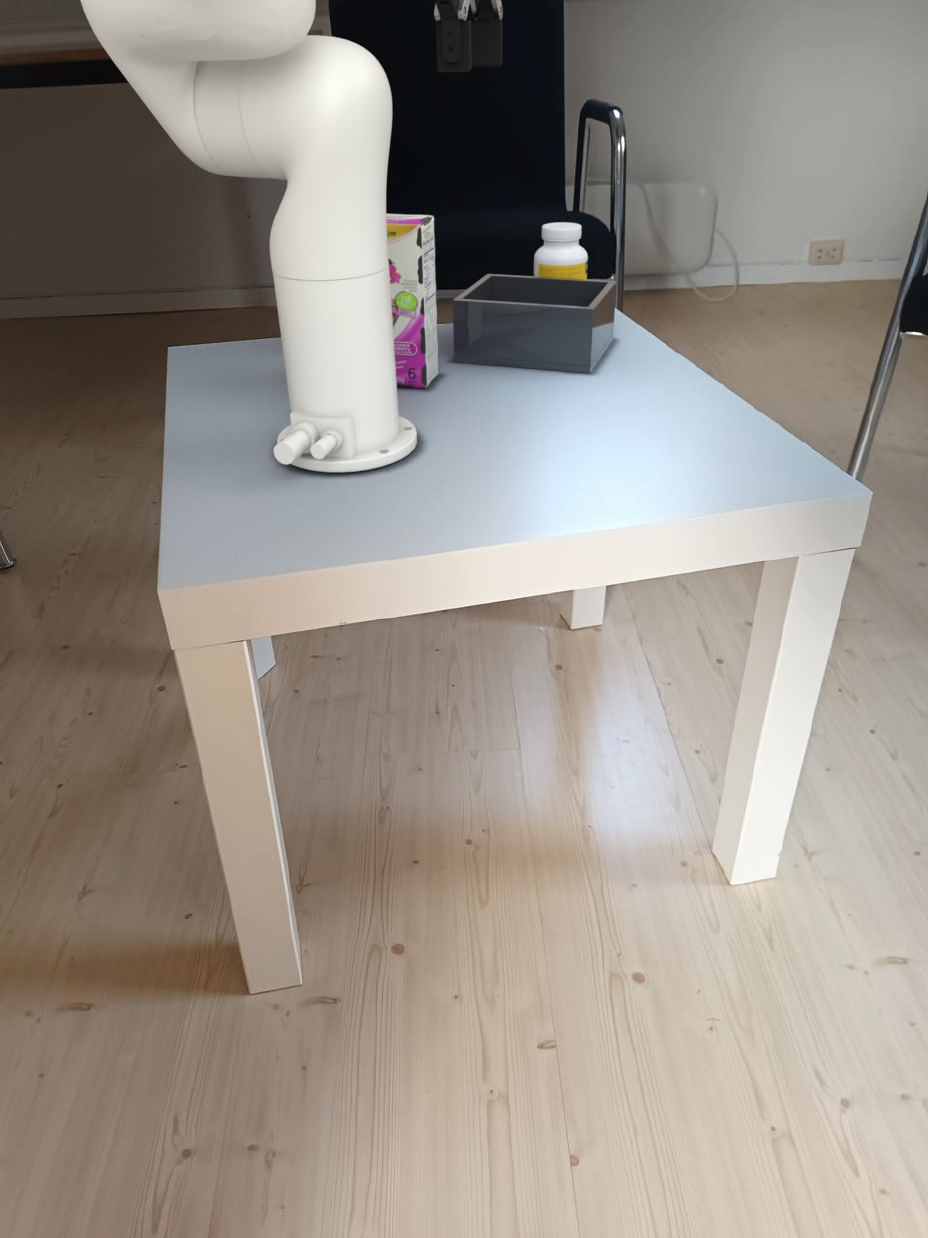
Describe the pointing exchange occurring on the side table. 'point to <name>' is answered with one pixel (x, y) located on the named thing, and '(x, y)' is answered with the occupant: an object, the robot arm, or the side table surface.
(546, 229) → the pill bottle
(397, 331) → the candy bar box
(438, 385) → the side table surface
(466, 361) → the open box
